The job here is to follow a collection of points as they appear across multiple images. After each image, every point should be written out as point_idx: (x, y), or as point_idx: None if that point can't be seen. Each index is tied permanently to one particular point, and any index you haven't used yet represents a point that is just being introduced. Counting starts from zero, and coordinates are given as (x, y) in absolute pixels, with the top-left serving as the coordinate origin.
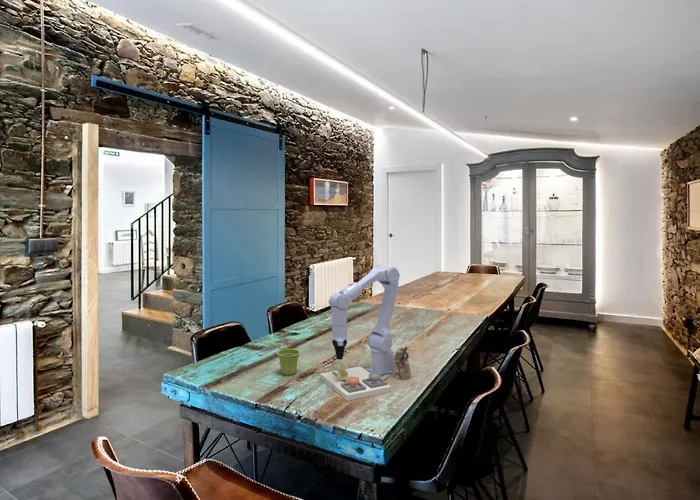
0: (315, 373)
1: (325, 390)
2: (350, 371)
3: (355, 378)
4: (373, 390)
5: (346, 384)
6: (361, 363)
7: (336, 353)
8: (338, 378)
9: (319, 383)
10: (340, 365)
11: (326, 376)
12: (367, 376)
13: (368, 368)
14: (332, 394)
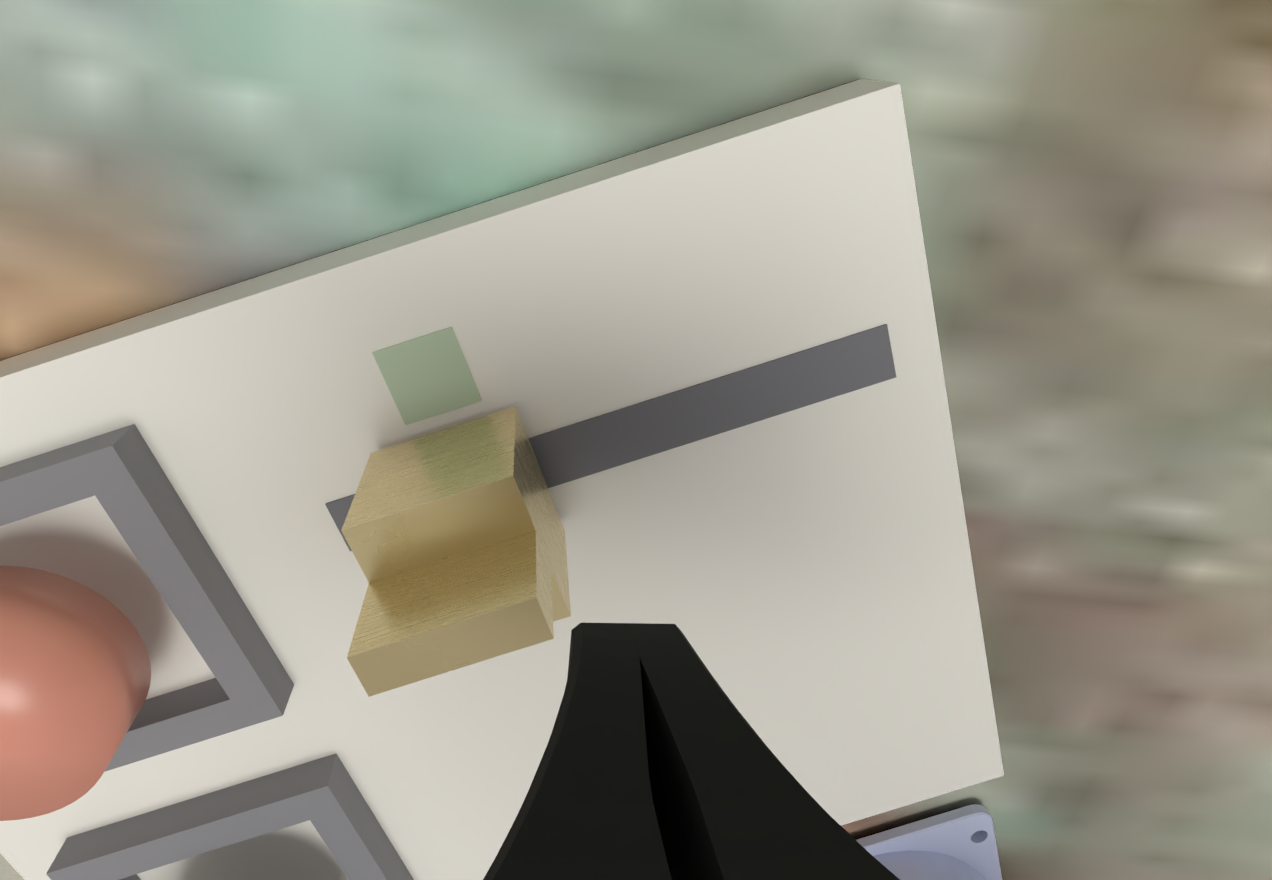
0: (1155, 6)
1: (235, 114)
2: (838, 636)
3: (1, 765)
4: (8, 851)
5: (133, 535)
6: (1242, 760)
7: (547, 759)
8: (466, 426)
9: (610, 30)
10: (498, 608)
11: (699, 203)
12: None
13: (984, 831)
14: (37, 228)
